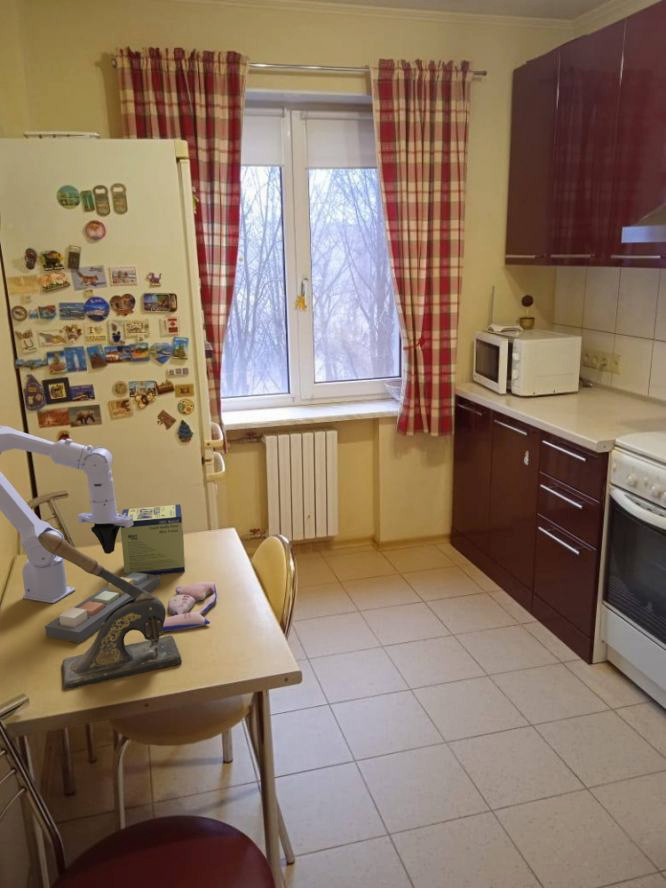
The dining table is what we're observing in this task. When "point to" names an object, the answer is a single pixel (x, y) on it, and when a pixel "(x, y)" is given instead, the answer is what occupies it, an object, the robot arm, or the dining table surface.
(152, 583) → the keypad board
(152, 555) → the protein powder box
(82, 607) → the key terracotta
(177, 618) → the anatomical model
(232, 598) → the dining table surface
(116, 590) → the key ochre
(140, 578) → the key blue
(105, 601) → the key sage
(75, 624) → the key ivory
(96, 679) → the embossing press
